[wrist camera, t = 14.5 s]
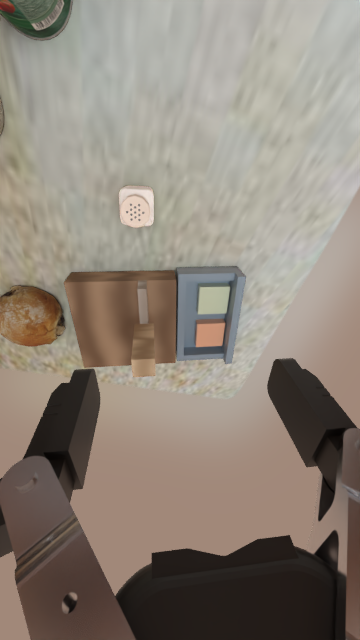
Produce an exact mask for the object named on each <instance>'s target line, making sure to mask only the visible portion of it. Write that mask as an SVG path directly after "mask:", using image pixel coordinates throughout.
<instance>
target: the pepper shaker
mask: <svg viewBox="0 0 360 640" xmlns="http://www.w3.org/2000/svg"><path fill="white" fill-rule="evenodd" d="M119 210H120V220H121V222H122V223H123V224H125V225H128V226H131V227H134V228H138V227H143V226H150V225H152V224H153V221H154V194H153V190H152V188H150V187H147V186H130V185H127V186H124V187H123V188H122V189H120V191H119Z"/></svg>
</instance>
